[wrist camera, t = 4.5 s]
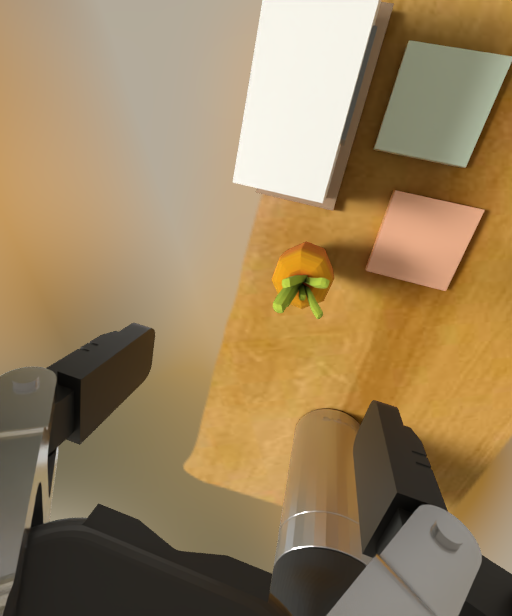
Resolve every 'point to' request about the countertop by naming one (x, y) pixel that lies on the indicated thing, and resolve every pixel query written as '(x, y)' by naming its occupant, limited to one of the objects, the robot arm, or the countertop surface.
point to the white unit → (308, 95)
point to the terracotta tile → (422, 239)
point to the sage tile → (440, 102)
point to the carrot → (302, 278)
